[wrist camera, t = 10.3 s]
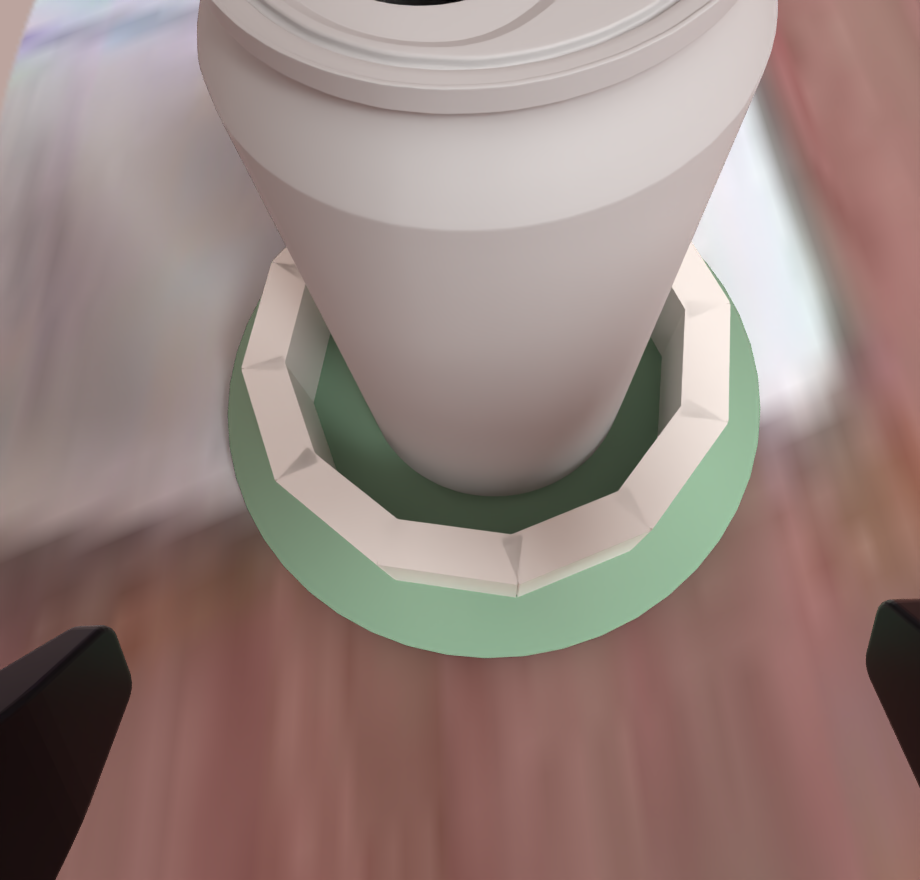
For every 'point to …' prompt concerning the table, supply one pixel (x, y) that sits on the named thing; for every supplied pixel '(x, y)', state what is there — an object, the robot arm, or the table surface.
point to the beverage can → (487, 198)
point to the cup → (493, 517)
